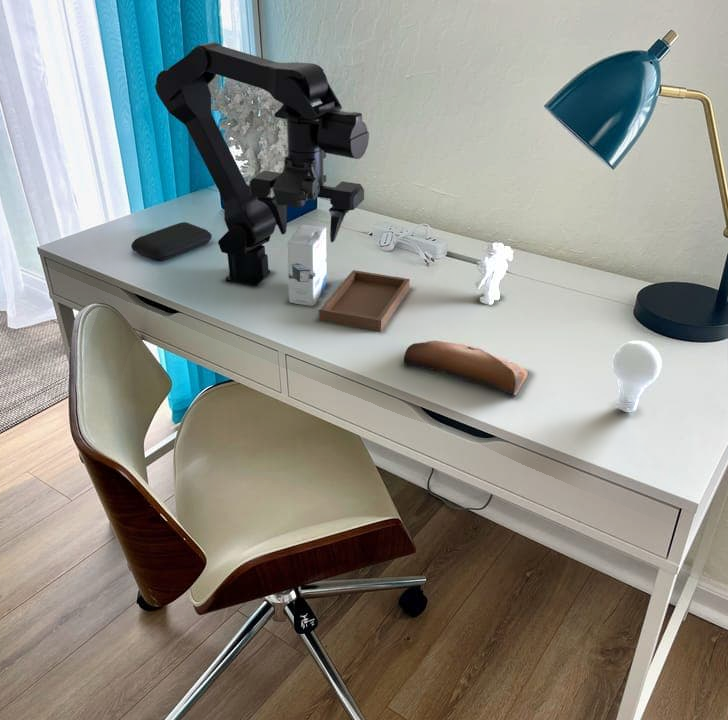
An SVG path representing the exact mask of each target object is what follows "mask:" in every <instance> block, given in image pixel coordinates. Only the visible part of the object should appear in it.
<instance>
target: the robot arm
mask: <svg viewBox="0 0 728 720" xmlns="http://www.w3.org/2000/svg"><path fill="white" fill-rule="evenodd" d="M216 76H220V77H223V78H227V79H230V80H233V81H235V82H239V83H243V84H245V85H248V86H251V87H256V88H258V89H261V90H263V91H265V92H268V93H269V94H270V96H271V97H272V98H273V99H274V100H275V101H277V102H279V103H281V104H282V105H281V107H280V108H278V110H276V111H275V112H274V117H275V118H277V119H282V120H286V138H287V155H286V156H284V164H283V165H284V166H283V170H282V172H277V171H270V170H263V171H261V172H260V173H259V174H257V175H256V176H254V177H253V178H251V179H250V182H249V185H248V184H247V181H246V180H245V177H244V176H243V174H242V172H241V169H240V168H239V166H238V164H237V162H236V160H235V158H234V156H233V154H232V152H231V150H230V147H229V146H228V144H227V142H226V140H225V138H224V136H223V134H222V132H221V130H220V128H219V126H218V124H217V121H216V120H215V117H214V116H213V113H212V93H211V89H210V88H209V84H210V83H211V82H213V80H214V79H215V78H216ZM154 89H155V92H156V95H157V97H158V99H159V100H160V101H161V103H162V105H163V106H164V107H165V109H166V110H167V112H168V113H169V114H170V115H171V116H173V117H174V118H175V119H177V120H178V121H179V122H181V123H182V124H183V125H184V126H185V128H186V130H187V132H188V134H189V136H190V137H191V140H192V141H193V142H194V145H195V148H196V149H197V151H198V153H199V155H200V157H201V159H202V161H203V163H204V165H205V167H206V169H207V171H208V172H209V174H210V176H211V178H212V180H213V182H214V184H215V186H216V188H217V190H218V192H219V194H220V196H221V198H222V200H223V202H224V203H223V207H224V210H223V211H224V212H223V213H224V215H223V217H224V223H225V225H226V228H227V231H226V232H225V233H224V235H222V236H221V237H220V238H219V240H218V241H217V244H218V247H219V250H220V251H221V253H223V254H226V255H227V263H228V273H229V274H228V275H227V276H225V282H229V283H235V284H241V285H246V286H251V287H257V286H258V285H259V284H260V283H262V282H263V281H264V280H265V279H266V278H267V277H268V276H269V275H270V274H271V273H272V272H271V269H270V268H269V258H268V257H269V256H268V254H267V253H266V246H265V245H264V244H266V243H268V242H270V240H271V236H272V235H273V234H274V232H275V229H276V226H277V227H278V229H279V232H280V234H281V235H285V234H286V233H287V227H288V226H287V225H288V210H287V209H288V208H287V207H293V208H297V209H300V208H302V207H304V206H305V204H306V202H307V201H308V200H311V201H315V200H316V199H317V198H322V199H329V203H330V205H331V207H330V208H329V209H328V211H329V214H330V226H329V227H330V230H329V238H330V242H331V243H334V242H335V241H336V238H337V236H338V233H339V231H340V229H341V226H342V224H343V221H344V218H345V217H346V215H347V214H348V213H349V212H350V211H354V210H355V209H357V207H358V206H360V205H361V204H362V203H363V202H364V200H365V189H364V187H363V185H362V183H357V182H349V181H340V182H339V183H338V184H337V185H336V186H327V185H325V183H326V182H327V175H326V174H324V159H326V158H327V154H328V155H329V154H330V155H334V156H340V157H345V158H349V159H353V160H354V159H355V160H360V159H361V158H363V156H364V155H365V153H366V151H367V149H368V146H369V140H370V132H369V131H368V127H367V124H366V122H364V121H363V114H362V113H361V112H357V111H352V112H350V111H343V110H342V109H343V107H342V105H341V103H340V101H339V99H338V97H337V96H336V94H335V91H333V89H332V87H331V85H330V83H329V81H328V78H327V75H326V73H325V72H324V68H323V67H321V66H320V65H318V64H316V63H311V62H297V61H296V62H294V61H293V62H280V61H279V62H277V61H273V60H270V59H266V58H264V57H260V56H256V55H253V54H250V53H247V52H244V51H239V50H237V49H233V48H230V47H226V46H223V45H222V44H221V43H217V42H213V41H212V42H207V43H202V44H198V45H197V46H195V47H193V48H192V50H191V51H190V52H189V53H188V54H187V55H186V56H184V57H183V58H181V59H180V60H178V61H177V62H176V63H174V64H172V65H171V66H170V67H168V69H164V70H161V71H160V72H159V73H158V74H157V76H156V79H155V84H154ZM318 102H321V103H319V104H316V105H312V104H315V103H318Z"/></svg>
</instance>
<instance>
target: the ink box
mask: <svg viewBox="0 0 728 720" xmlns="http://www.w3.org/2000/svg"><path fill="white" fill-rule="evenodd" d="M286 245H287V269H288V270H287V271H288V272H287V273H288V275H287V277H288V303H290V304H297V305H304V306H310V307H313V306H315V305H316V303H317V302H318V300H319V298H320V296H321V295H322V294H323V291H324V290H325V288H326V287H327V227H326V226H320V225H307V224H300V225H299V227H298V228H297V230H295V232H294V234H293V235H292V236H291V237H290V238H289V240H288V242H287V244H286Z"/></svg>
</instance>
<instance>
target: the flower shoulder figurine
mask: <svg viewBox="0 0 728 720" xmlns="http://www.w3.org/2000/svg"><path fill="white" fill-rule="evenodd" d="M483 252H484V253H486V254H487V257H486V256H484V257H481V258H480V260H478V261H477V262H476V264H478V265H476V268H477V270H478V272H479V273H480V274H481V275H480V277H479V278H478V280H477V281H476V282H475V284H474V286H475V288H476V290H480V289H481V287H482V286H483V285H484V288H483V296H481V297H479V302H480V303H482V304H485V305H493V304H494V301H498V300H499V299H500V289H499V284H500V280H501V279H502V278H503V277H504V276H505V275H506V272H507V269H508V268H509V267H508V263H507V260H508V261H509V262H511V261H512V260H513V257H514V256H513V253H514V250H512V249H511V246H509V245H504V244H503V243H502V242H496V241H495V242H491V243H489V244H487V246H485V247H484V248H483ZM481 269H483V270H481Z"/></svg>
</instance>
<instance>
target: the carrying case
mask: <svg viewBox="0 0 728 720" xmlns="http://www.w3.org/2000/svg"><path fill="white" fill-rule="evenodd" d="M212 237H213V234H212V233H211V232H210V231H208V230H207V229H205V228H204V227H203V228H202V227H200V226H197V225H194V224H192V223H189V222H186V221H182V222H178V223H175V224H173V225H169V226H167V227H164V228H161V229H158V230H156V231H153V232H150V233H147V234H144V235H141V236H139V237H137V238H135V239H134V240H133V242H132V243H131V249H132V250H133V251H134V252H136V254H137V255H141V256H144V257H145V258H148V259H150V260H153V261H154V262H165V261H167V260H170V259H173V258H175V257H178V256H180V255H183V254H185V253H188V252H190V251H194V250H195V249H198V248H200V247H203V246H205V245H208V244H209V242H210V241H211V240H212Z"/></svg>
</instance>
